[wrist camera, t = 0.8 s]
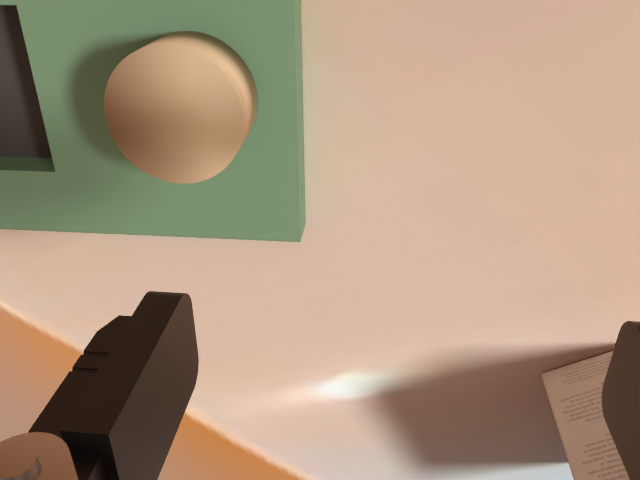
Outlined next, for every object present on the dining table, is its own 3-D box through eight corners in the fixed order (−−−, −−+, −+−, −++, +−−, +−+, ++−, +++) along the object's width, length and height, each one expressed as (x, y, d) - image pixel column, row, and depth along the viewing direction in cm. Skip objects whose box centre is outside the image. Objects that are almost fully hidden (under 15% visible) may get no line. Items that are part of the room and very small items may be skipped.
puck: (122, 29, 25) (91, 43, 23) (254, 31, 25) (238, 45, 22) (142, 155, 28) (116, 181, 25) (261, 159, 27) (247, 186, 25)
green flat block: (-179, -83, 26) (-293, -81, 22) (299, -86, 24) (279, -85, 20) (-76, 207, 33) (-147, 253, 28) (305, 223, 31) (291, 274, 27)
